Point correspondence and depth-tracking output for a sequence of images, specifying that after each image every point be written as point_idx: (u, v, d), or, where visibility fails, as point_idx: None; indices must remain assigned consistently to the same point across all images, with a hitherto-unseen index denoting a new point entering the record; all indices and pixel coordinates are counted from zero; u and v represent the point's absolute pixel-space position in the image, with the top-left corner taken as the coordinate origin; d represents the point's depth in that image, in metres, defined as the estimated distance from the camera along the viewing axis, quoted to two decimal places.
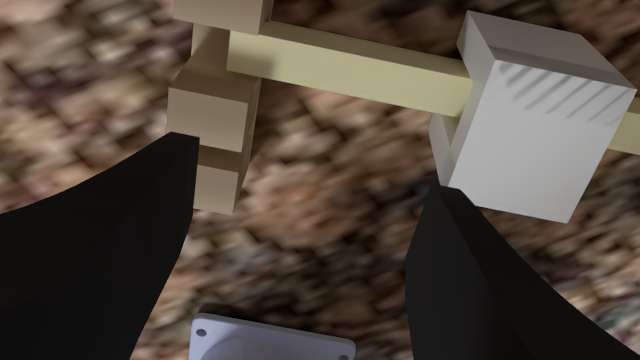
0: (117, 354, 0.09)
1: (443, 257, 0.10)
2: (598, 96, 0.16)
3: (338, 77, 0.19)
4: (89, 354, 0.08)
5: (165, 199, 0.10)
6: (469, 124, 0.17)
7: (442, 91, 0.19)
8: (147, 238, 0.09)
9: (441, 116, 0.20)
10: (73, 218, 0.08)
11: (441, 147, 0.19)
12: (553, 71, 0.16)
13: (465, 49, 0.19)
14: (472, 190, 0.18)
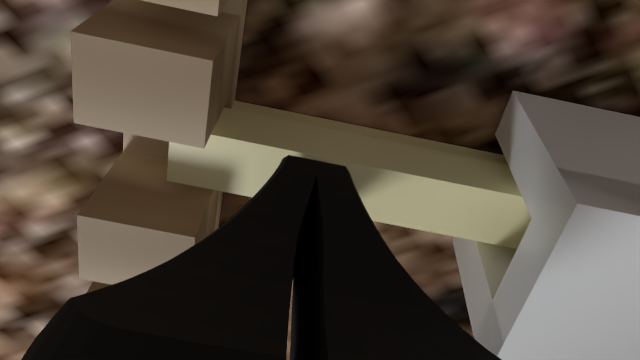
0: None
1: (311, 232, 0.10)
2: None
3: None
4: None
5: (302, 226, 0.10)
6: (528, 287, 0.11)
7: (479, 212, 0.13)
8: None
9: None
10: (253, 252, 0.08)
11: (476, 288, 0.14)
12: None
13: (513, 152, 0.13)
14: None
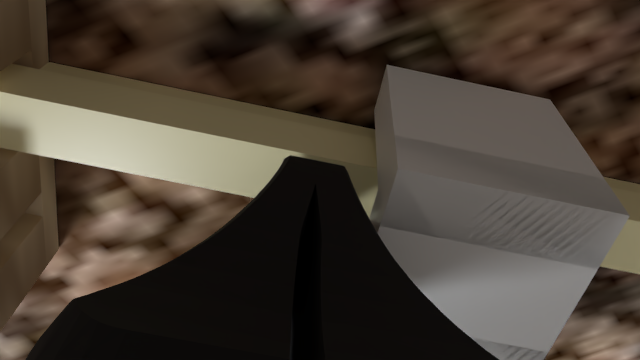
0: None
1: (309, 231, 0.10)
2: (567, 223, 0.10)
3: (123, 151, 0.13)
4: None
5: (304, 226, 0.10)
6: None
7: None
8: None
9: None
10: (255, 253, 0.08)
11: None
12: (493, 187, 0.10)
13: (379, 125, 0.13)
14: None
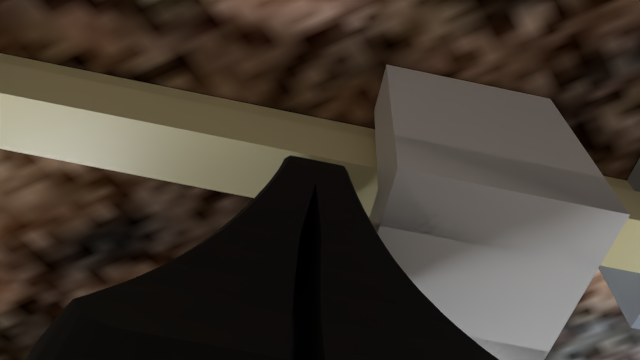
0: None
1: (309, 231, 0.10)
2: (567, 222, 0.10)
3: None
4: None
5: (304, 226, 0.10)
6: None
7: (6, 119, 0.13)
8: None
9: None
10: (255, 252, 0.08)
11: None
12: (493, 186, 0.10)
13: (378, 125, 0.13)
14: None
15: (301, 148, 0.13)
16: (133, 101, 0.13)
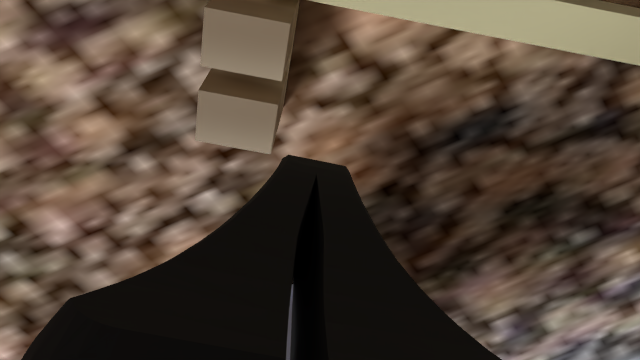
0: None
1: (311, 232, 0.10)
2: None
3: None
4: None
5: (302, 225, 0.10)
6: None
7: (499, 11, 0.17)
8: None
9: None
10: (253, 252, 0.08)
11: None
12: None
13: None
14: None
15: None
16: None
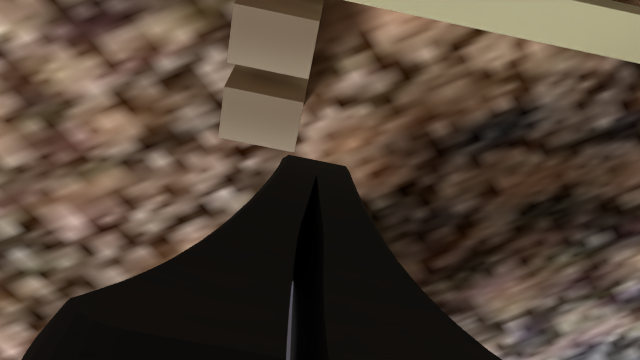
0: None
1: (311, 232, 0.10)
2: None
3: None
4: None
5: (302, 225, 0.10)
6: None
7: (527, 12, 0.17)
8: None
9: None
10: (252, 252, 0.08)
11: None
12: None
13: None
14: None
15: None
16: (605, 2, 0.18)
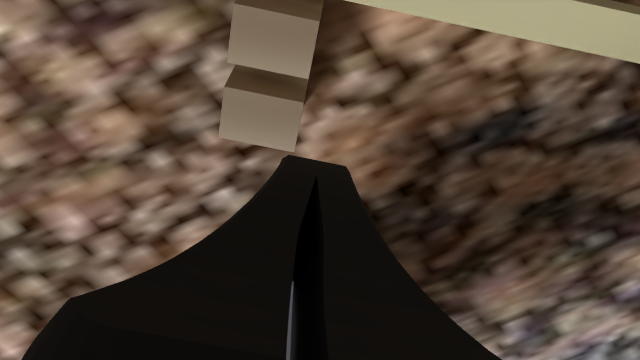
0: None
1: (311, 232, 0.10)
2: None
3: None
4: None
5: (302, 225, 0.10)
6: None
7: (527, 12, 0.17)
8: None
9: None
10: (252, 252, 0.08)
11: None
12: None
13: None
14: None
15: None
16: (605, 2, 0.18)
